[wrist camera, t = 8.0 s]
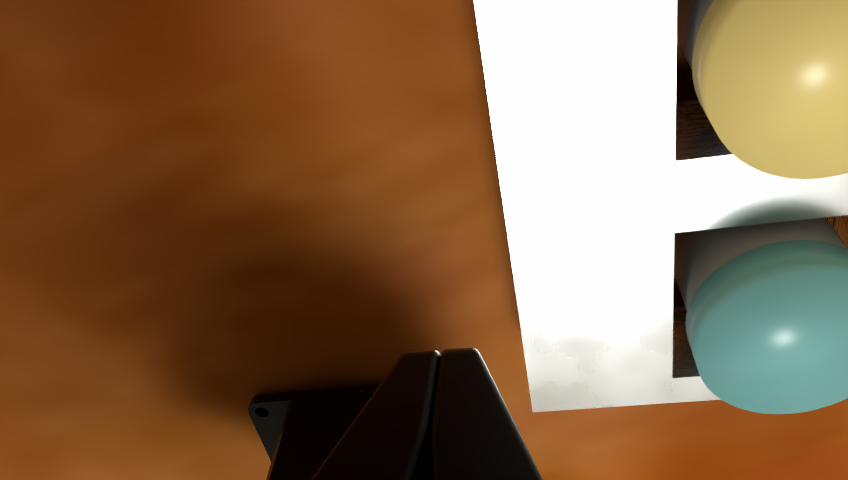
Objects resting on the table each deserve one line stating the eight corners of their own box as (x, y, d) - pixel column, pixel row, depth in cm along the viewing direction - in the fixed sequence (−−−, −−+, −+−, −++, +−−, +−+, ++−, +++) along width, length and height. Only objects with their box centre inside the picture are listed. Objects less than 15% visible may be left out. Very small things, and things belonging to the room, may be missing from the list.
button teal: (822, 299, 22) (885, 407, 18) (662, 313, 22) (693, 419, 19) (844, 165, 19) (922, 260, 16) (662, 185, 20) (698, 281, 16)
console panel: (960, 306, 22) (1019, 379, 20) (528, 342, 24) (532, 411, 22) (1300, -822, 10) (1553, -992, 8) (404, -559, 12) (383, -630, 10)
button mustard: (858, 79, 18) (946, 164, 14) (662, 105, 18) (702, 191, 15) (892, -127, 15) (1009, -85, 12) (663, -88, 16) (711, -36, 12)
